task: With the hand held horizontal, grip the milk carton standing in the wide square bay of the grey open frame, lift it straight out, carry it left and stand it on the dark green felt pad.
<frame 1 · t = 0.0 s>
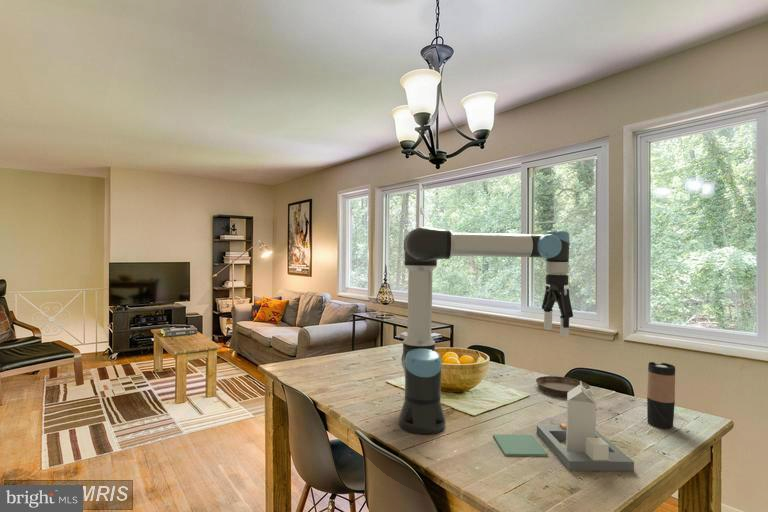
hand: (555, 332, 147), 28 cm above the table, tool pointing down, fingers open, 13 cm apart
plant saucer: (562, 391, 170), on the table
travel mug: (660, 425, 137), on the table
felt pad: (519, 445, 120), on the table
milk carton: (579, 450, 118), resting in grey open frame
grey open frame: (579, 449, 118), on the table
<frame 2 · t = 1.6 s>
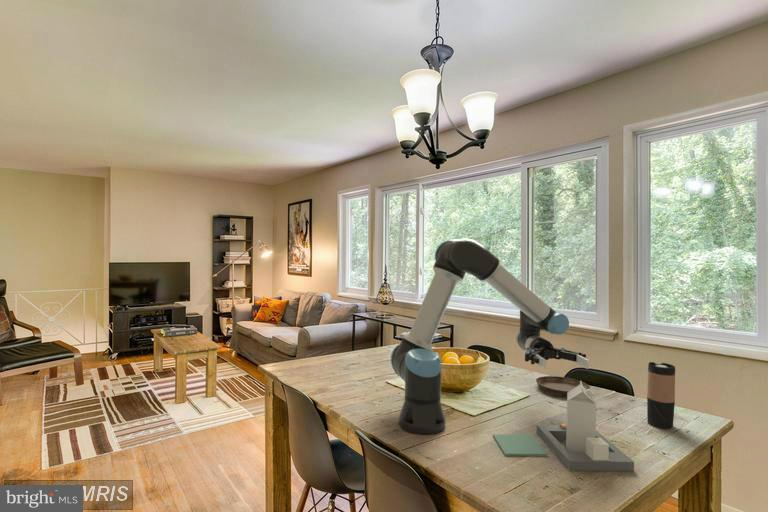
hand: (566, 364, 128), 22 cm above the table, tool horizontal, fingers open, 13 cm apart
nothing on the table moved.
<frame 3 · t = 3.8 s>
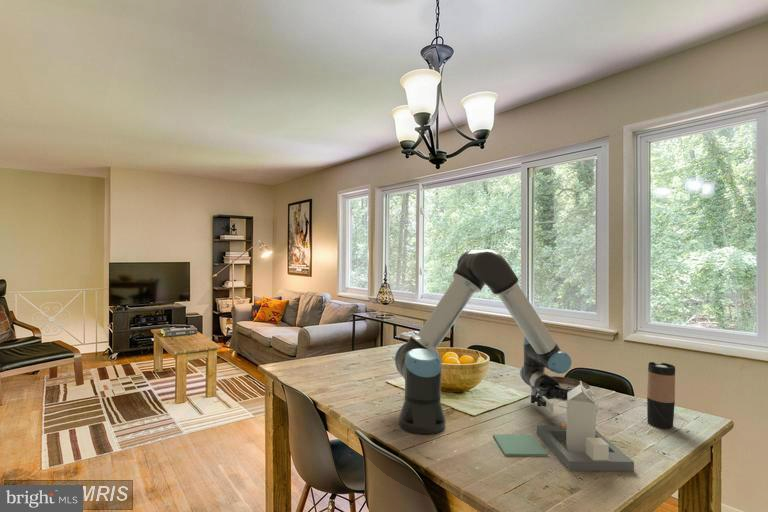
hand: (574, 408, 124), 10 cm above the table, tool horizontal, fingers open, 13 cm apart
nothing on the table moved.
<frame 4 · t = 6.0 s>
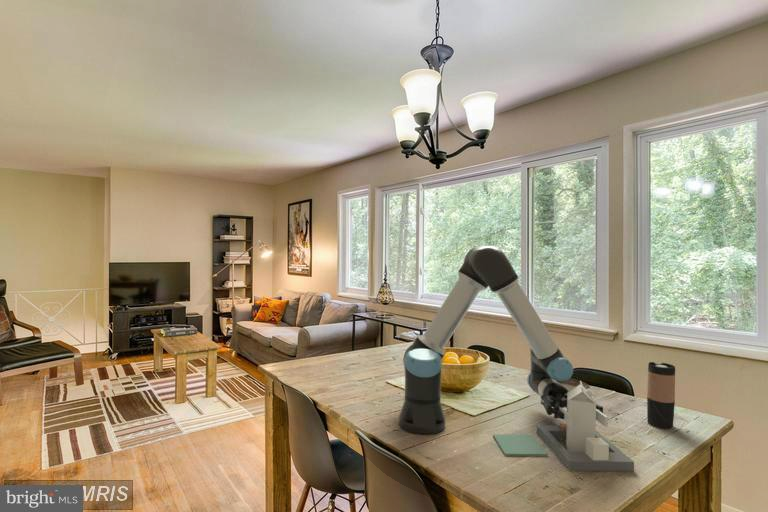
hand: (588, 421, 114), 10 cm above the table, tool horizontal, fingers closed on milk carton, 9 cm apart
milk carton: (579, 450, 118), resting in grey open frame, touching gripper
everything else where it was.
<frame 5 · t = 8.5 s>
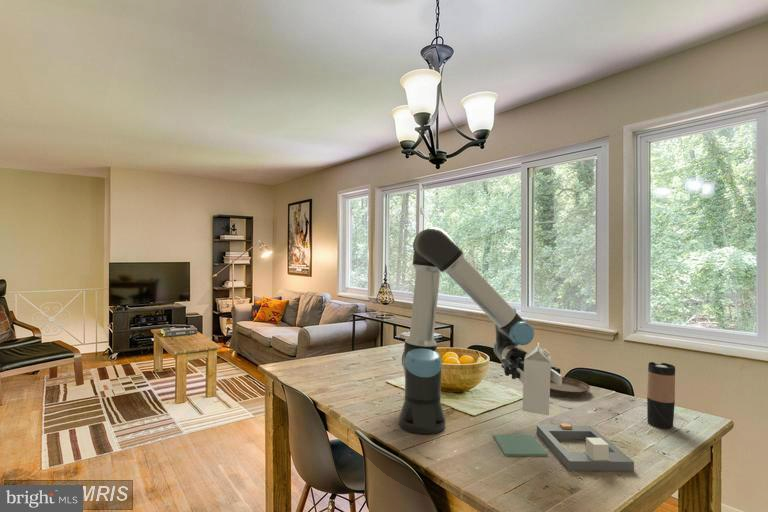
hand: (543, 380, 115), 21 cm above the table, tool horizontal, fingers closed on milk carton, 9 cm apart
milk carton: (535, 410, 120), point 11 cm above the table, touching gripper
everything else where it was.
when the fingers open (12 cm above the table, at t = 11.0 s): milk carton drops 1 cm, resting on felt pad.
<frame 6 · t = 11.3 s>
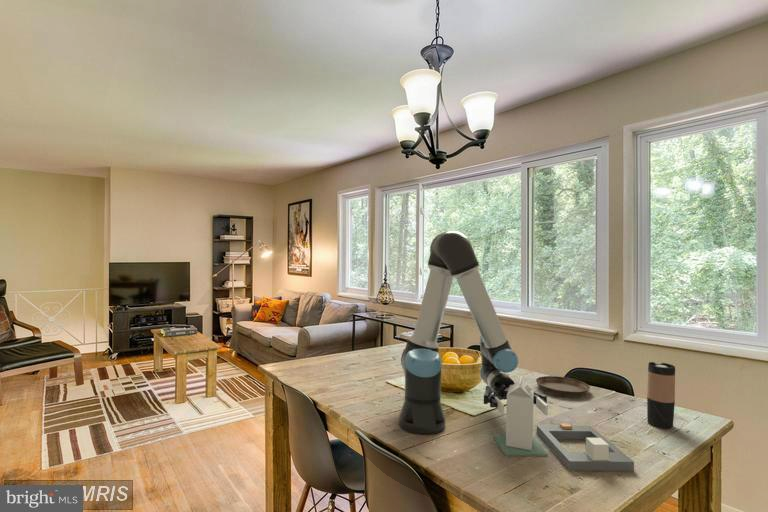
hand: (524, 410, 116), 12 cm above the table, tool horizontal, fingers open, 12 cm apart
milk carton: (519, 443, 120), point 1 cm above the table, touching felt pad
everything else where it was.
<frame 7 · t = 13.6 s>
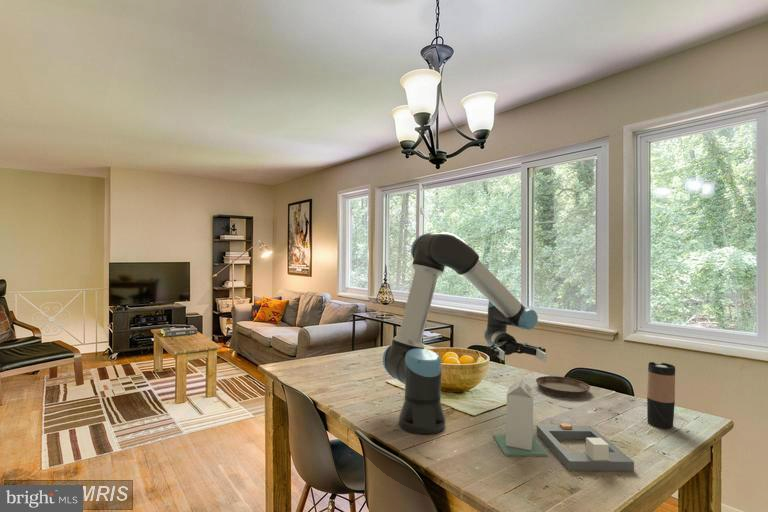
hand: (524, 357, 132), 23 cm above the table, tool horizontal, fingers open, 13 cm apart
nothing on the table moved.
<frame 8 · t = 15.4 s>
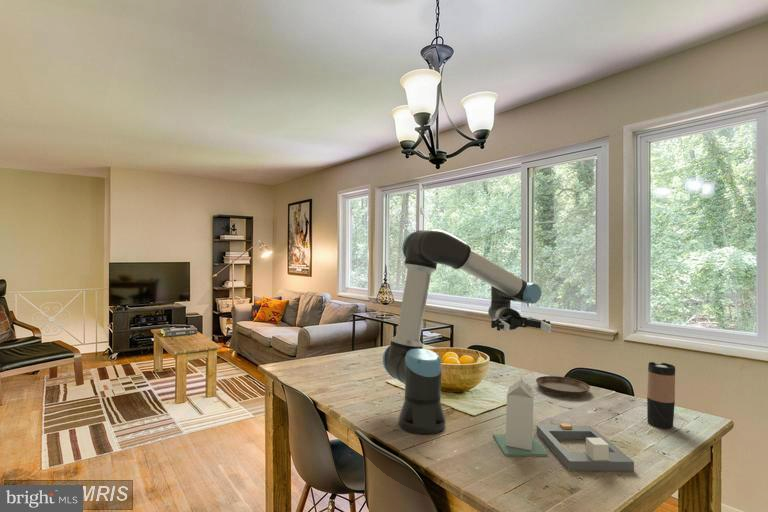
hand: (529, 329, 133), 32 cm above the table, tool horizontal, fingers open, 13 cm apart
nothing on the table moved.
at the end: milk carton inside the target area (0.1 cm from its centre), resting on felt pad; milk carton tilted 0°; the gripper is holding nothing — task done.
